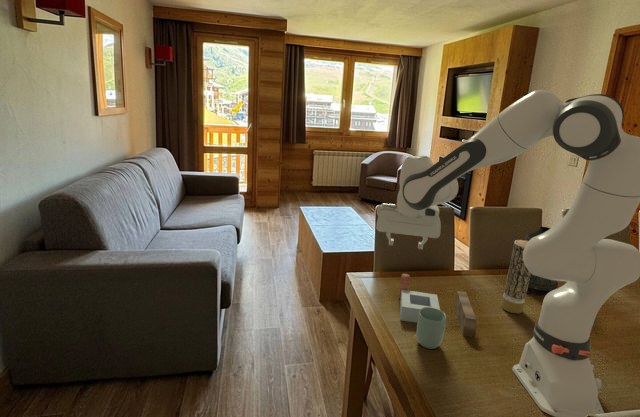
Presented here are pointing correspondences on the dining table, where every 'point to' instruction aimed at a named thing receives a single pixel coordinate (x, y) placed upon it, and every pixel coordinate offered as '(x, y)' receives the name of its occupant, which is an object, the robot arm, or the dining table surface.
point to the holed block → (415, 304)
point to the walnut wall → (465, 314)
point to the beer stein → (538, 283)
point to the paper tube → (516, 280)
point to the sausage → (404, 283)
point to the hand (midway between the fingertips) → (405, 246)
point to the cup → (430, 327)
